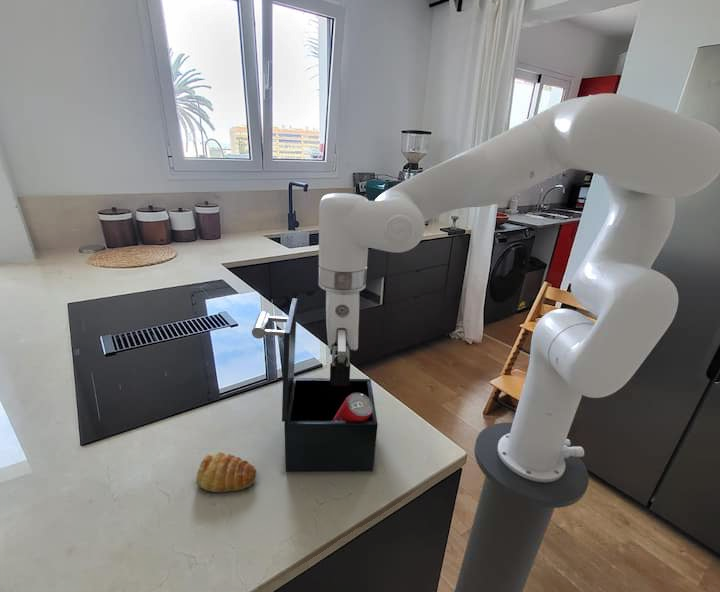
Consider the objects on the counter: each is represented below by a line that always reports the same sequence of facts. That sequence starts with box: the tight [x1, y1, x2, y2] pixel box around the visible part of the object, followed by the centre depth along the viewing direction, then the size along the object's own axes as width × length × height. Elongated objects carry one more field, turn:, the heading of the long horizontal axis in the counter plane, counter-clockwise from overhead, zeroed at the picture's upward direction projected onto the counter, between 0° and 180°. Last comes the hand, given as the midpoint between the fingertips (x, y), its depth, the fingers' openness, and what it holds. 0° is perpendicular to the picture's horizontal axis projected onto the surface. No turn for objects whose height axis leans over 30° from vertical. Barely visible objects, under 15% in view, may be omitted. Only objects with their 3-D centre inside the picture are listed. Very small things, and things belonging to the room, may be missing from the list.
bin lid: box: [251, 297, 298, 423], centre depth 67 cm, size 16×14×6 cm
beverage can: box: [332, 393, 373, 421], centre depth 71 cm, size 5×5×12 cm
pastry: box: [195, 452, 257, 493], centre depth 66 cm, size 9×7×4 cm
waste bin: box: [283, 377, 379, 473], centre depth 74 cm, size 16×14×11 cm
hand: (339, 368), depth 69 cm, fingers open, 9 cm apart
